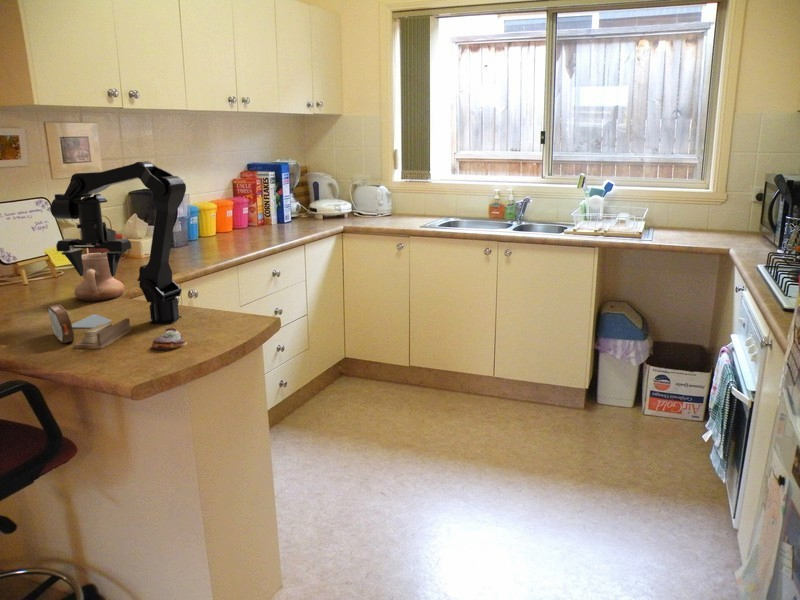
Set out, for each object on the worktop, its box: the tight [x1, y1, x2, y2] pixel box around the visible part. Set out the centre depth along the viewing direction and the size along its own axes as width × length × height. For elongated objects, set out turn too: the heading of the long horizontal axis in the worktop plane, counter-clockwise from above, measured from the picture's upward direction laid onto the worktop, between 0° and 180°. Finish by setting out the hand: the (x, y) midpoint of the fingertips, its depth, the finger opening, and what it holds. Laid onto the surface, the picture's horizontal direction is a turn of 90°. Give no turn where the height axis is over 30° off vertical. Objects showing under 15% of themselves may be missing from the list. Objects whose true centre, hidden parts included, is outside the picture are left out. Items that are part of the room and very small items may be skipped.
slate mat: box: [71, 313, 113, 330], centre depth 185 cm, size 9×19×1 cm, turn 174°
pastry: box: [151, 326, 188, 352], centre depth 158 cm, size 8×8×5 cm
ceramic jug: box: [73, 252, 125, 302], centre depth 206 cm, size 18×14×14 cm
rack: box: [73, 317, 131, 350], centre depth 165 cm, size 7×14×4 cm, turn 174°
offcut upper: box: [84, 322, 113, 337], centre depth 164 cm, size 3×8×1 cm, turn 174°
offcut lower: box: [81, 336, 97, 343], centre depth 165 cm, size 3×10×1 cm, turn 174°
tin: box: [47, 303, 75, 344], centre depth 165 cm, size 15×3×8 cm, turn 37°
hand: (97, 276), depth 182 cm, fingers open, 9 cm apart
